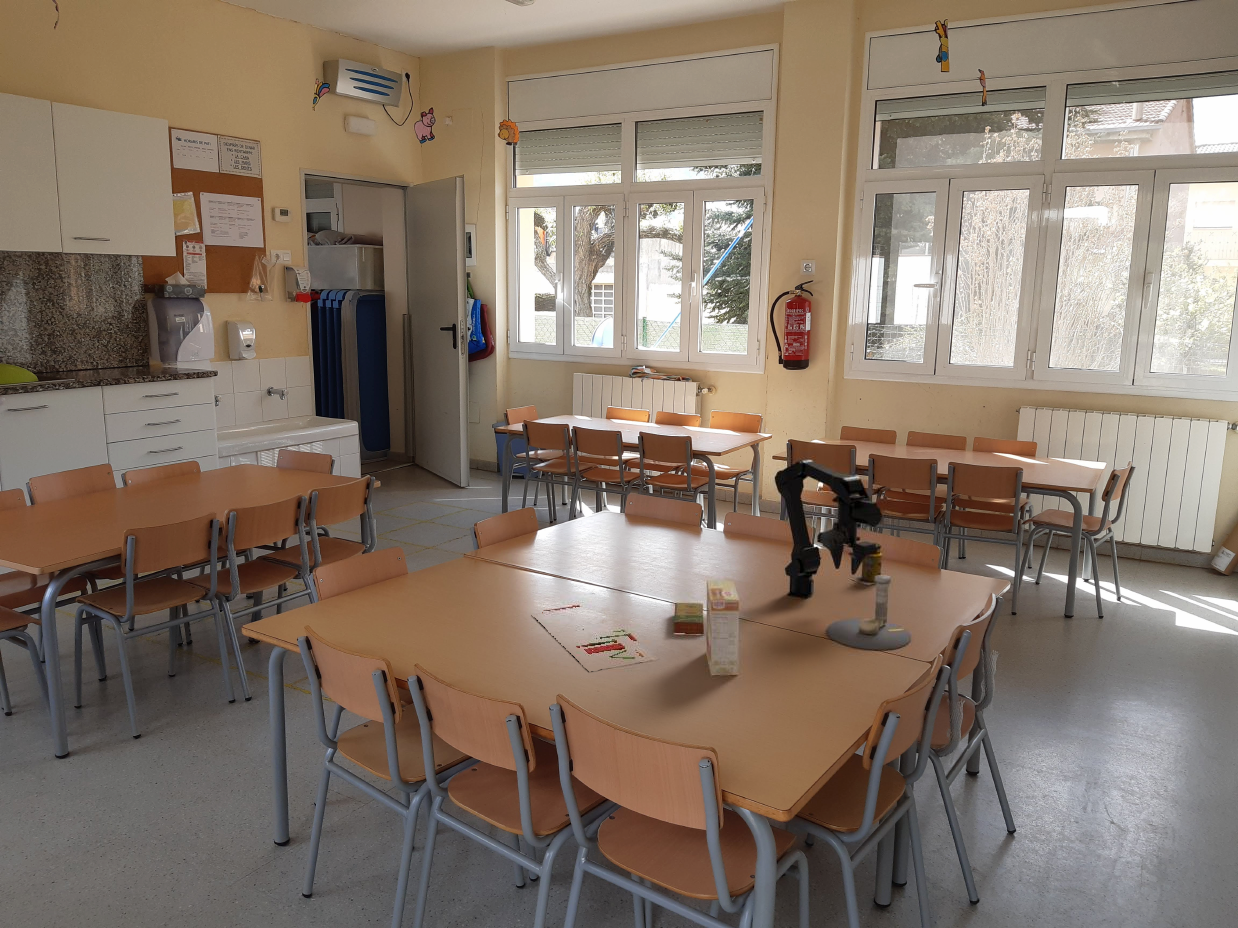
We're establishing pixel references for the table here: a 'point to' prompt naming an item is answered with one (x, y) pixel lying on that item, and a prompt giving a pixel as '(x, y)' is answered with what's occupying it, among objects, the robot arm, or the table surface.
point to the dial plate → (868, 635)
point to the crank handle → (877, 607)
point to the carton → (688, 618)
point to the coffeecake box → (722, 627)
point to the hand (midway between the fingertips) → (845, 571)
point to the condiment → (871, 567)
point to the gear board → (607, 647)
